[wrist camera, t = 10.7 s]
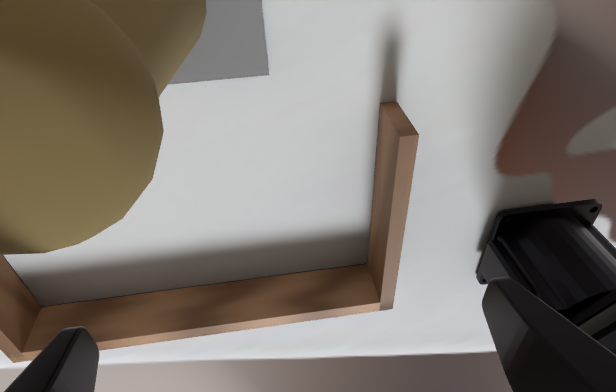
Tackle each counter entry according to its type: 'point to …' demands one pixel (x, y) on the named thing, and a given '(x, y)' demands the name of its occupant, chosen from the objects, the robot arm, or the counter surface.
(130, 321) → the wooden u-shaped frame
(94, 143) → the cork
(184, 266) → the counter surface
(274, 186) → the counter surface
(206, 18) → the grey mat
